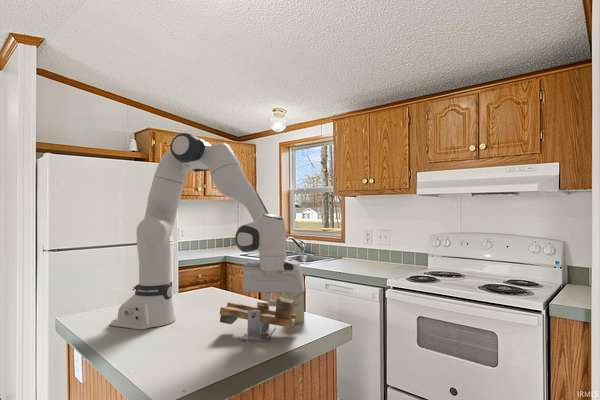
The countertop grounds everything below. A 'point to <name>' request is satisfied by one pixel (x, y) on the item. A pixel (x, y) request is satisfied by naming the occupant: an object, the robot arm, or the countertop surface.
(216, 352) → the countertop surface
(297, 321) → the skincare box
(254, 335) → the pivot stand
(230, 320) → the beam
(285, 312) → the block
